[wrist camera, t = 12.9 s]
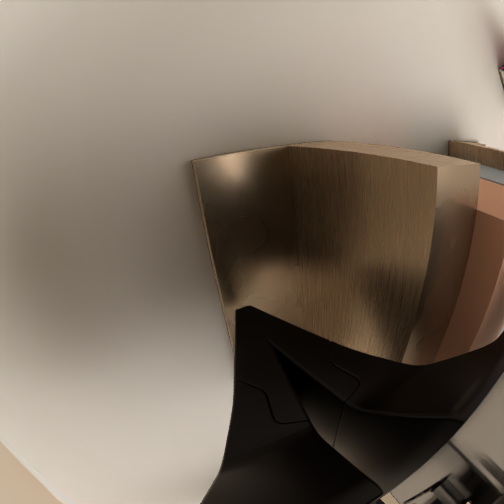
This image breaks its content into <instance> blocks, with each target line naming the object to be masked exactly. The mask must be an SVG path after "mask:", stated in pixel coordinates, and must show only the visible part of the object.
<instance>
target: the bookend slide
mask: <svg viewBox="0 0 504 504" xmlns="http://www.w3.org/2000/svg"><path fill="white" fill-rule="evenodd" d="M192 164H193V170H194V176H195V181H196V187H197V192H198V197H199V202H200V208H201V213H202V218H203V223H204V228H205V232H206V237H207V242H208V247H209V251H210V256H211V261H212V265H213V270H214V274H215V279H216V283H217V287H218V292H219V296H220V300H221V304H222V308H223V313H224V317H225V321H226V325H227V329H228V333H229V337H230V341H231V345H232V349H233V352H234V333H235V310H236V309H239V308H242V307H245V306H248V305H251V306H253V307H256V308H258V309H260V310H262V311H264V312H266V313H269V314H271V315H273V316H275V317H277V318H280V319H282V320H284V321H286V322H289V323H291V324H293V325H295V326H298V327H300V328H302V329H305V330H307V331H309V332H312V333H314V334H316V335H319V336H321V337H323V338H326V339H328V340H330V341H333V342H336V343H338V344H340V345H343V346H346V347H348V348H351V349H354V350H357V351H360V352H363V353H367V354H370V355H374V356H377V357H381V358H385V359H389V360H393V361H397V362H401V363H405V364H410V365H427V364H431V363H433V362H434V360H435V358H436V356H437V353H438V351H439V349H440V346H441V344H442V341H443V339H444V336H445V334H446V331H447V328H448V326H449V323H450V320H451V317H452V315H453V312H454V309H455V305H456V302H457V299H458V296H459V293H460V289H461V286H462V282H463V278H464V274H465V270H466V266H467V262H468V258H469V253H470V248H471V243H472V238H473V232H474V226H475V219H476V212H477V204H478V194H479V182H480V164H479V163H475V162H471V161H467V160H463V159H459V158H454V157H450V156H445V155H440V154H435V153H429V152H424V151H418V150H412V149H405V148H398V147H391V146H383V145H374V144H364V143H353V142H340V141H320V142H309V143H298V144H289V145H280V146H272V147H265V148H258V149H251V150H245V151H238V152H232V153H227V154H221V155H216V156H210V157H205V158H200V159H195V160H192Z"/></svg>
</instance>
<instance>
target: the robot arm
mask: <svg viewBox="0 0 504 504" xmlns="http://www.w3.org/2000/svg"><path fill="white" fill-rule="evenodd" d="M389 492H390V493H391V494H392V495H393V497H394V498H395V499H396V500H397V501H398V503H399V504H466V503H467V502H469V503H470V504H504V330H503V332H502V333H501V334H500V336H499V337H498V338H497V339H496V340H495V341H493V342H492V343H490V344H488V345H486V346H484V347H481V348H479V349H476V350H473V351H470V352H467V353H465V354H461V355H458V356H455V357H452V358H449V359H445V360H442V361H439V362H435V363H431V364H427V365H410V364H405V363H401V362H397V361H393V360H389V359H385V358H381V357H377V356H374V355H370V354H367V353H363V352H360V351H357V350H354V349H351V348H348V347H346V346H343V345H340V344H338V343H336V342H333V341H330V340H328V339H326V338H323V337H321V336H319V335H316V334H314V333H312V332H309V331H307V330H305V329H302V328H300V327H298V326H295V325H293V324H291V323H289V322H286V321H284V320H282V319H280V318H277V317H275V316H273V315H271V314H269V313H266V312H264V311H262V310H260V309H258V308H256V307H253V306H251V305H248V306H245V307H242V308H239V309H236V310H235V333H234V392H233V407H232V414H231V420H230V426H229V431H228V436H227V441H226V447H225V452H224V456H223V460H222V464H221V467H220V470H219V473H218V475H217V477H216V478H215V480H214V482H213V484H212V485H211V487H210V489H209V490H208V492H207V494H206V495H205V497H204V498H203V500H202V502H201V503H200V504H385V503H384V502H383V501H382V500H381V499H380V498H382V497H383V496H385V495H386V494H388V493H389Z"/></svg>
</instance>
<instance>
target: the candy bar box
mask: <svg viewBox="0 0 504 504" xmlns="http://www.w3.org/2000/svg"><path fill="white" fill-rule="evenodd" d="M499 72H500V76H501V81H502V84H503V88H504V66H502V67H501V68H500V69H499Z"/></svg>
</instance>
